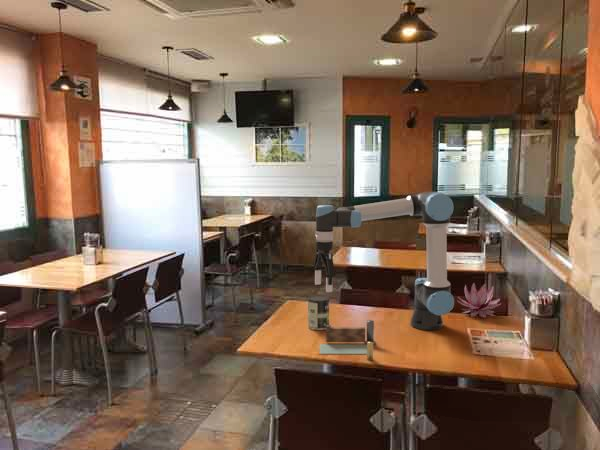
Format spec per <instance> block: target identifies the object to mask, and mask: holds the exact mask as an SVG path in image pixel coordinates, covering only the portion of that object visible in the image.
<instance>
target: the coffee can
mask: <svg viewBox="0 0 600 450" xmlns="http://www.w3.org/2000/svg"><path fill="white" fill-rule="evenodd" d="M307 315H308V316H307V319H308V320H307V321H308V323H307V327H308V329H311V330H314V331H315V330H316V331H322V330H326V325H330V297H329V296H327V295H321V294H315V295H314V294H313V295H311V296H308V297H307Z"/></svg>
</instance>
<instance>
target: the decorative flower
mask: <svg viewBox="0 0 600 450" xmlns="http://www.w3.org/2000/svg"><path fill="white" fill-rule="evenodd" d="M464 295H465V299H466V300H467V301H466V300H464V299H462V298H461V297H460V296H457V298H458V299H459V300H458V299H457V300H456V301H457V302H458V303H459V304H461V305H462V306H464V307H468V308H466V309H465V308H462V309H461V310H462V311H463V310H464V311H463V312H462V314H468V313H469V315H470V317H474V318H476V316H479V317H480V318H486V319H487V315H488V316H492V317H496V315H495V314H494V311H492V310H491V309H495V308H497V307H499V306H500V305H501V303H498V302H500V300H501V298H497V299H494V300H492V297H493V295H494V286H492V287H490V289H488V288H487V284H486V283H484V284H483V285H482V286H481V287H479V289H478V290H477V288H476V284H475V282H473V283H472V285H471V288H470V291H469V290H468V287H467V285H466V284H465V286H464Z"/></svg>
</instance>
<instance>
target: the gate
mask: <svg viewBox="0 0 600 450" xmlns="http://www.w3.org/2000/svg"><path fill="white" fill-rule="evenodd" d="M365 341H366V327H365V326H364V327H360V326H359V327H358V326H357V327H356V326H355V327H354V326H353V327H349V326H348V327H345V326H343V327H341V326H340V327H339V326H338V327H335V326H334V327H332V325H331V324H329V325H326V329H325V342H326V343H364V342H365Z"/></svg>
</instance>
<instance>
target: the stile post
mask: <svg viewBox="0 0 600 450" xmlns="http://www.w3.org/2000/svg"><path fill="white" fill-rule="evenodd" d="M366 347H367V354H366V361H369V362H370V361H373V360H374V345H373V342H371V341H368V342H367V345H366Z"/></svg>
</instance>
